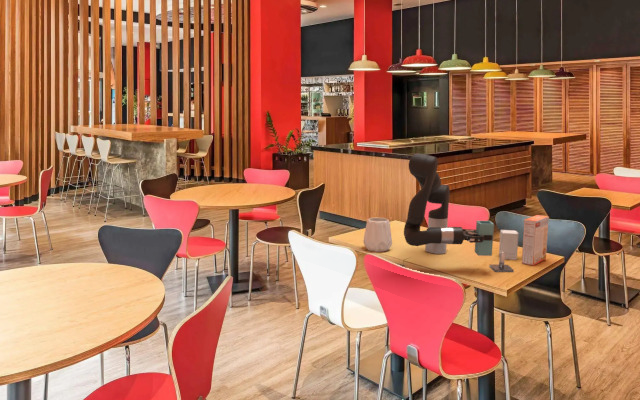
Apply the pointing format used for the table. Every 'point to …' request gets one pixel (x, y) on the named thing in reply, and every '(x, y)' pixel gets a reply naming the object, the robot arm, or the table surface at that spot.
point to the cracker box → (535, 239)
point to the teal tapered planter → (485, 246)
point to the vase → (378, 235)
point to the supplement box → (509, 244)
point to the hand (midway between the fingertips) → (489, 235)
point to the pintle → (501, 265)
